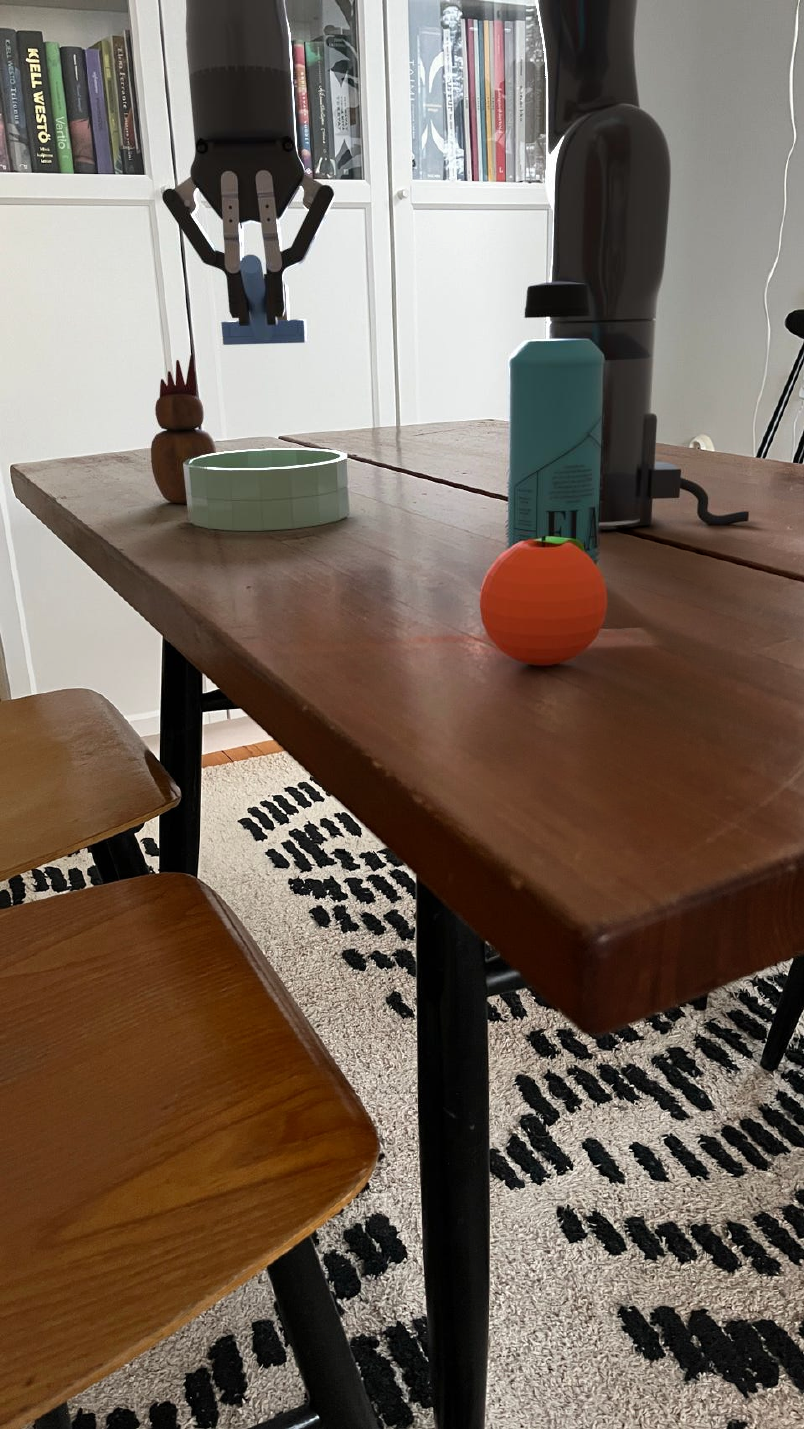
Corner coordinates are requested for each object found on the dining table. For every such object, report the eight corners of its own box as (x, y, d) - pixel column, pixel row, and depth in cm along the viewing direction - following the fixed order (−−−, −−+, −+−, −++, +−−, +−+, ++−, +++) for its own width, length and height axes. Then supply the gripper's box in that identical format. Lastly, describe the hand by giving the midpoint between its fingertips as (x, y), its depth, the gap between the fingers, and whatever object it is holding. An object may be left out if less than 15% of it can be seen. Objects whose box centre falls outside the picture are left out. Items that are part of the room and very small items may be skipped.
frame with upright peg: (231, 342, 94) (225, 264, 92) (307, 340, 94) (303, 262, 92) (210, 348, 80) (202, 255, 77) (300, 346, 80) (295, 253, 78)
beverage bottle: (539, 605, 70) (545, 280, 63) (486, 585, 75) (486, 284, 68) (618, 592, 73) (632, 278, 66) (561, 574, 78) (569, 283, 71)
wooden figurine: (225, 496, 117) (213, 353, 111) (211, 505, 111) (197, 355, 106) (166, 497, 117) (150, 355, 112) (149, 506, 112) (132, 357, 107)
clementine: (533, 633, 64) (535, 516, 61) (636, 653, 60) (643, 528, 57) (454, 667, 58) (452, 539, 56) (562, 691, 54) (566, 554, 52)
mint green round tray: (350, 505, 109) (347, 446, 107) (348, 534, 95) (345, 466, 92) (202, 510, 109) (196, 451, 106) (178, 540, 94) (171, 472, 92)
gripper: (136, 62, 73) (163, 329, 79) (334, 58, 74) (346, 323, 80) (154, 85, 80) (178, 327, 86) (334, 81, 81) (345, 322, 87)
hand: (258, 324), depth 83 cm, fingers closed on frame with upright peg
